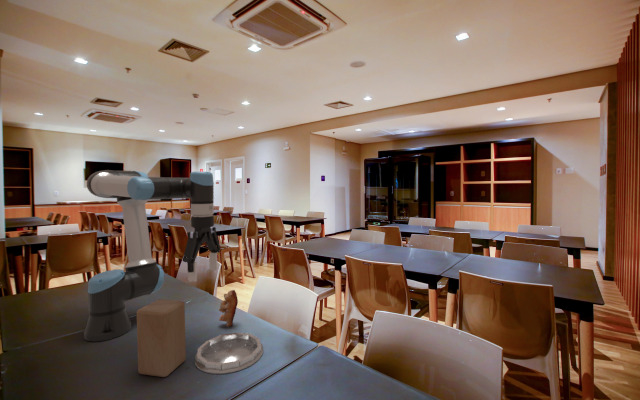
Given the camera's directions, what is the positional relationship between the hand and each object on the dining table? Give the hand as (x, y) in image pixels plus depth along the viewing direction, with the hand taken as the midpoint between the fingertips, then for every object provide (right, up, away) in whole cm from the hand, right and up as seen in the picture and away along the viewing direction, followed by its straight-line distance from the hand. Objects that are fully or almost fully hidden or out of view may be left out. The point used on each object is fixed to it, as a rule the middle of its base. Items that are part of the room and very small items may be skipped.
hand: (203, 275), depth 107 cm
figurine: (+4, -25, +16) cm, 30 cm away
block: (-8, -26, -12) cm, 30 cm away
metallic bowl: (+11, -25, -5) cm, 28 cm away
